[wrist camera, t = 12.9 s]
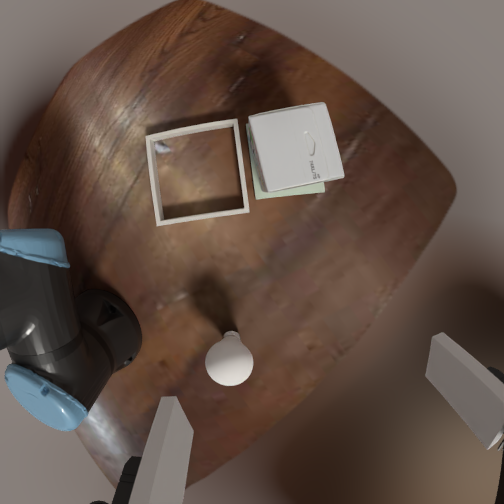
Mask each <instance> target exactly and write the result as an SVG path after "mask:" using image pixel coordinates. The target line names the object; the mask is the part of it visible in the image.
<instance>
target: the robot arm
mask: <svg viewBox="0 0 504 504" xmlns="http://www.w3.org/2000/svg"><path fill="white" fill-rule="evenodd" d="M69 267H70V264H69V263H68V260H67V255H66V249H65V243H64V239H63V237H62V235H61V234H60V233H59V232H58V231H56V230H54V229H8V230H0V350H2V349H4V348H7V349H8V352H9V354H10V357H11V360H12V364H9V365H8V366H7V369H6V371H5V381H6V383H7V386H8V388H9V389H10V391H11V393H12V394H13V395H14V397H15V398H16V399H17V400H18V402H19V403H20V404H21V405H22V406H23V407H24V408H25V409H26V410H27V411H28V412H29V413H31V414H32V415H33V416H34V417H35V418H37V419H38V420H40V421H41V422H43V423H45V424H46V425H48V426H51V427H52V428H55V429H58V430H62V431H71V430H74V429H76V428H77V427H78V426H79V424H80V423H81V422H82V420H83V419H84V418H85V417H87V416H88V412H89V411H90V409H91V407H92V406H93V404H94V403H95V401H96V399H97V398H98V396H99V394H100V393H101V391H102V389H103V388H104V386H105V385H106V383H107V381H108V380H109V378H110V377H111V375H112V374H114V373H115V372H117V371H119V370H121V369H122V368H124V367H126V366H128V365H129V364H130V363H131V362H132V361H133V360H134V359H135V357H136V356H137V354H138V353H139V351H140V348H141V345H142V333H141V328H140V325H139V323H138V320H137V318H136V317H135V315H134V313H133V312H132V311H131V309H130V308H129V307H128V306H127V305H126V304H125V303H124V302H123V301H122V300H121V299H120V298H118V297H117V296H115V295H113V294H112V293H109V292H107V291H104V290H99V289H92V290H87V291H85V292H83V293H81V294H80V295H79V296H77V297H76V298H74V293H73V287H72V282H71V276H70V270H69ZM425 376H426V377H427V378H428V380H429V381H430V382H431V383H432V384H433V385H434V386H435V388H436V389H437V390H438V391H439V392H440V393H441V394H442V396H443V397H444V398H445V399H446V400H447V401H448V403H449V404H450V405H451V406H452V407H453V408H454V410H455V411H456V412H457V413H458V414H459V415H460V417H461V418H462V419H463V420H464V421H465V423H466V424H467V425H468V426H469V427H470V429H471V430H472V431H473V433H474V434H475V435H476V436H477V438H478V439H479V440H480V441H481V443H482V444H483V445H484V446H485V448H486V449H487V450H488V449H489V448H490V447H492V446H493V445H494V444H495V443H497V442H498V441H499V439H500V437H501V436H502V434H503V433H504V374H503V373H502V372H500V371H499V370H498V369H495V368H492V367H489V368H487V369H486V368H485V367H484V366H483V365H482V364H480V363H479V362H478V361H477V360H476V359H475V358H473V357H472V356H471V355H470V354H469V353H467V352H466V351H465V350H464V349H463V348H461V347H460V346H459V345H458V344H457V343H455V342H454V341H453V340H452V339H450V338H449V337H448V336H447V335H445V334H444V333H443V332H442V333H440V334H438V335H435V336H433V337H432V341H431V348H430V354H429V360H428V365H427V370H426V375H425ZM193 432H194V431H193V429H192V427H191V426H190V424H189V422H188V420H187V418H186V416H185V414H184V412H183V410H182V408H181V406H180V404H179V402H178V399H177V397H176V396H174V397H162V398H161V401H160V404H159V407H158V409H157V412H156V415H155V419H154V422H153V425H152V428H151V431H150V434H149V437H148V440H147V443H146V446H145V450H144V453H143V456H142V457H135V456H132V457H131V458H130V459H129V460H128V461H127V462H126V463H125V465H124V468H123V471H122V475H121V477H120V482H119V483H118V486H117V489H116V492H115V495H114V498H113V501H112V504H182V503H183V497H184V490H185V483H186V476H187V470H188V463H189V457H190V450H191V444H192V438H193ZM502 446H503V449H502V450H503V457H502V465H501V473H500V480H499V486H498V491H497V496H496V501H495V504H504V439H503V441H502V443H501V444H500V446H499V447H498V450H500V449H501V447H502ZM90 504H108V503H106V502H104V501H94V502H92V503H90Z"/></svg>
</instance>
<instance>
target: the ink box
mask: <svg viewBox="0 0 504 504" xmlns="http://www.w3.org/2000/svg"><path fill="white" fill-rule="evenodd" d="M248 124H249V125H248V138H249V141H250V145H251V149H252V153H253V157H254V161H255V165H256V169H257V173H258V177H259V181H260V186H261V190H262V192H266V193H273V192H278V191H283V190H289V189H294V188H299V187H303V186H308V185H313V184H317V183H322V182H326V181H331V180H335V179H339V178H344V171H343V167H342V163H341V158H340V154H339V150H338V146H337V142H336V138H335V135H334V131H333V127H332V124H331V120H330V117H329V114H328V111H327V107H326V104H325V103H324V102H320V103H313V104H306V105H300V106H294V107H289V108H283V109H278V110H273V111H268V112H264V113H259V114H255V115H251V116H249V123H248Z"/></svg>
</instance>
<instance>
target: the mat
mask: <svg viewBox="0 0 504 504" xmlns="http://www.w3.org/2000/svg"><path fill="white" fill-rule="evenodd" d="M248 125H249V124H246V129H247V137H248ZM248 144H249V152H250V159H251V167H252V174H253V182H254V190H255V198H256V199H263V198H272V197H280V196H289V195H299V194H309V193H319V192H325V188H324V182H322V183H317V184H313V185H308V186H303V187H299V188H294V189H289V190H283V191H278V192H273V193H266V192H262V190H261V186H260V181H259V177H258V173H257V169H256V165H255V161H254V157H253V153H252V149H251V145H250V141H249V138H248Z"/></svg>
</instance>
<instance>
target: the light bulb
mask: <svg viewBox="0 0 504 504" xmlns="http://www.w3.org/2000/svg"><path fill="white" fill-rule="evenodd" d="M205 365H206V369H207V372H208V374H209V375H210V377H211V378H212V379H213V380H214V381H216V382H217V383H219V384H222V385H226V386H233V385H237V384H240V383H242V382H243V381H245V380H246V379H247V378H248V377H249V375H250V373H251V372H252V368H253V358H252V355H251V353H250V351H249V349H248V348H247V347H246V346H245V345H243V344H242V343H241V338H240V335H239V334H238V333H237V332H235V331H228V332H226V333H225V334H224V335H223V337H222V340H221V341H220V342H218V343H216V344H214V345H213V346H212V347H211V348H210V350H209V351H208V353H207V356H206V360H205Z"/></svg>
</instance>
